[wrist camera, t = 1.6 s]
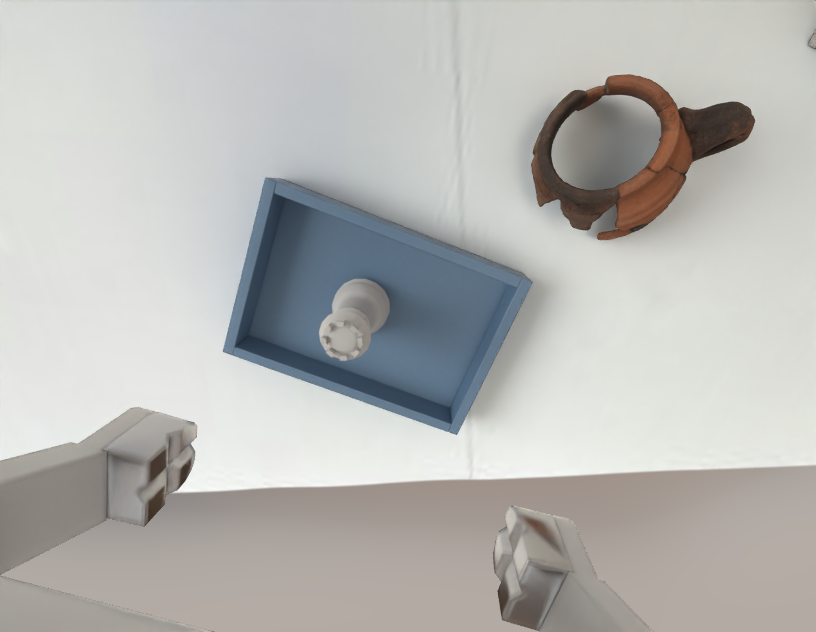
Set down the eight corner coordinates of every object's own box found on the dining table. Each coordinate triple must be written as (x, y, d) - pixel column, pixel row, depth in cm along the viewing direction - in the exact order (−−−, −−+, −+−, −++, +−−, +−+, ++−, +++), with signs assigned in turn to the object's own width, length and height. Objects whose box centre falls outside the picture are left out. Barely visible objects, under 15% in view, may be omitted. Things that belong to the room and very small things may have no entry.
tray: (240, 338, 33) (222, 352, 30) (281, 178, 29) (264, 176, 26) (454, 415, 34) (457, 435, 31) (523, 273, 30) (533, 281, 27)
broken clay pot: (563, 266, 30) (551, 245, 23) (524, 160, 32) (501, 107, 24) (751, 199, 25) (815, 143, 18) (694, 76, 27) (731, -21, 19)
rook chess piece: (367, 265, 30) (347, 291, 22) (401, 311, 31) (393, 350, 23) (323, 297, 31) (289, 332, 23) (357, 340, 32) (336, 387, 24)
